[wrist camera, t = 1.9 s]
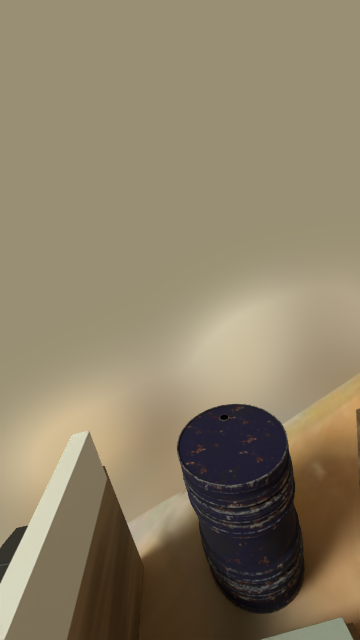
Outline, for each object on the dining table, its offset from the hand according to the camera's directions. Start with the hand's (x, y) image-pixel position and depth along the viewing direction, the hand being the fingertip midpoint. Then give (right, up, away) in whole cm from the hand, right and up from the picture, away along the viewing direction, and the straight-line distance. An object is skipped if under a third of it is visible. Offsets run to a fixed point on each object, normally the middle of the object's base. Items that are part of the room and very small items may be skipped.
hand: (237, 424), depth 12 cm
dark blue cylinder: (+5, -20, +16) cm, 26 cm away
